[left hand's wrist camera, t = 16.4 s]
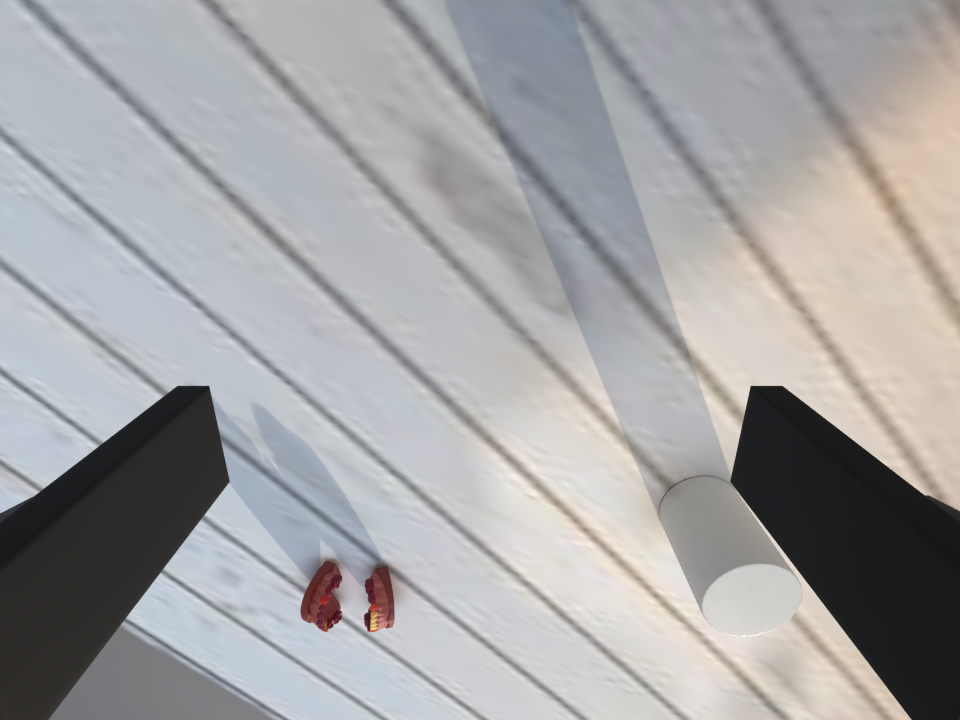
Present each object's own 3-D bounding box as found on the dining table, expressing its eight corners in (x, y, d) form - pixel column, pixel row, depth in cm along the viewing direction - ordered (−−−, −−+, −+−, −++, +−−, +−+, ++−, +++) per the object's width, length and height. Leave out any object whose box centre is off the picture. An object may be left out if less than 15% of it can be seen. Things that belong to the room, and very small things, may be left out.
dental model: (390, 652, 45) (297, 642, 44) (398, 613, 49) (313, 603, 48) (394, 602, 43) (297, 592, 42) (402, 565, 47) (313, 556, 46)
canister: (723, 463, 42) (786, 549, 33) (749, 521, 44) (814, 616, 35) (646, 495, 43) (687, 586, 34) (675, 550, 45) (720, 648, 37)
